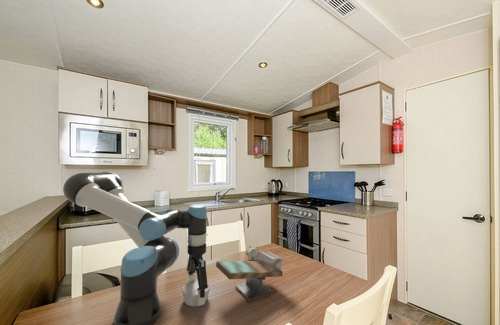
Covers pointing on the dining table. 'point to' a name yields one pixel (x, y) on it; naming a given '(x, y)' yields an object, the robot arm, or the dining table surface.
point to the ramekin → (193, 293)
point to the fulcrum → (253, 289)
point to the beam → (252, 267)
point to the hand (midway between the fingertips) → (196, 296)
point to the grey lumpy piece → (253, 253)
